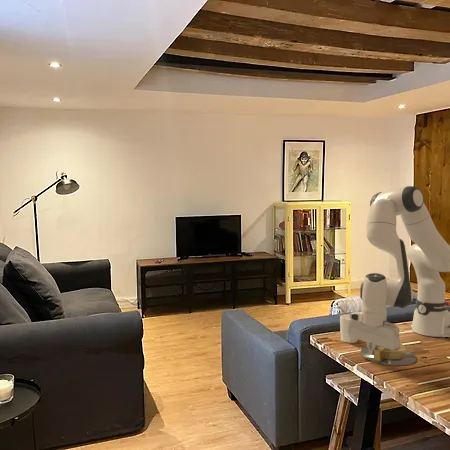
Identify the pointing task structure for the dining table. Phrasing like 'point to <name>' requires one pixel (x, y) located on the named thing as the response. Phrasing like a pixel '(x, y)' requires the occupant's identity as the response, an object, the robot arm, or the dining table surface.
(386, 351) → the ring nut
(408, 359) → the hub plate
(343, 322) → the white cup
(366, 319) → the robot arm
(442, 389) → the dining table surface
